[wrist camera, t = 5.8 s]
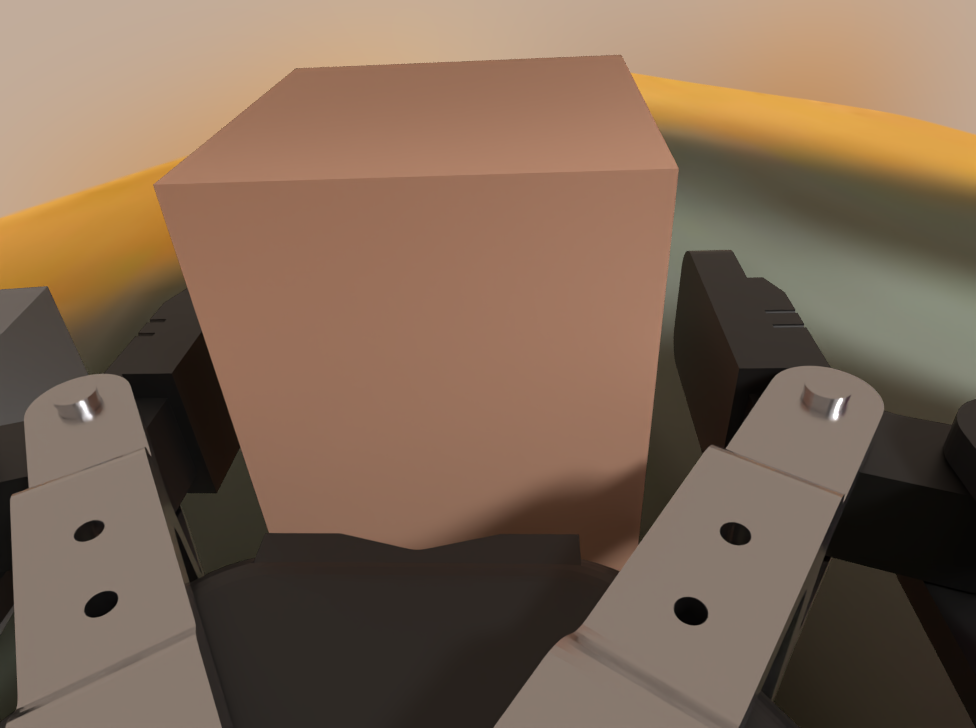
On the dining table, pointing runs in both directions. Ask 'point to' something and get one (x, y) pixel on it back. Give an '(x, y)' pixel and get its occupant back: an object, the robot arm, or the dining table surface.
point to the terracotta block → (437, 297)
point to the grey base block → (32, 354)
